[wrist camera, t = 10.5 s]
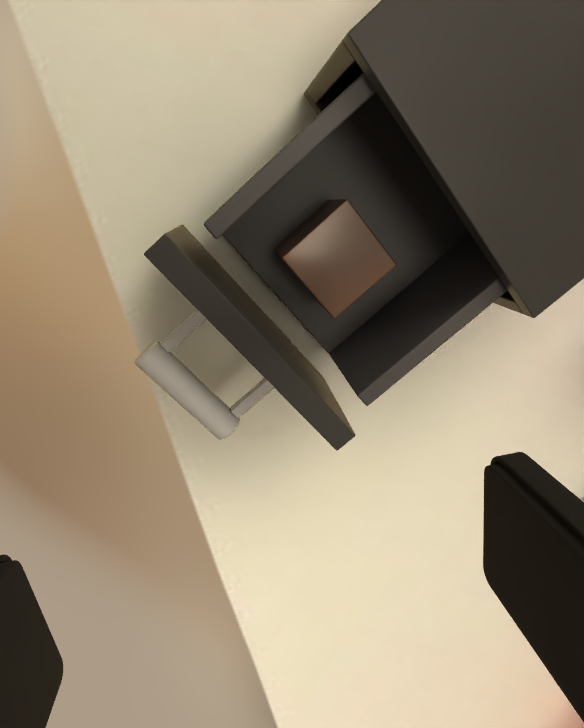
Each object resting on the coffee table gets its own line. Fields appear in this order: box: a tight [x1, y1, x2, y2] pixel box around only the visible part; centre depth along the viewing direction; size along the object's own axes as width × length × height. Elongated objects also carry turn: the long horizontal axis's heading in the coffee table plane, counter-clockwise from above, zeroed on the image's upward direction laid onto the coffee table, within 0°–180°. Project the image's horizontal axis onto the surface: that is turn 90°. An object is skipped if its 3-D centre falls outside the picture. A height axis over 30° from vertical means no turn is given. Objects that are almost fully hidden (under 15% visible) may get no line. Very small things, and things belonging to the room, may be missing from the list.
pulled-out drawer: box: [135, 73, 507, 450], centre depth 23 cm, size 19×12×8 cm, turn 131°
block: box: [274, 199, 396, 319], centre depth 24 cm, size 4×4×4 cm
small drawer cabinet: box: [304, 0, 584, 318], centre depth 22 cm, size 16×14×10 cm
